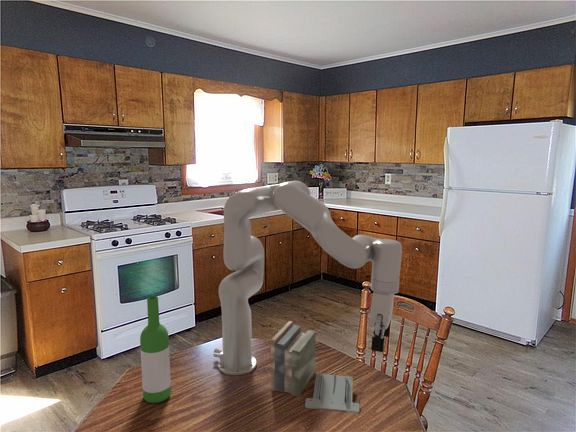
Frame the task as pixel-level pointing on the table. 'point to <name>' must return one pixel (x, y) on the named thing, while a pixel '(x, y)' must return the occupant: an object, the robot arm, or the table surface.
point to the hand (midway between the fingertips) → (380, 342)
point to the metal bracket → (333, 394)
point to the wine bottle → (155, 356)
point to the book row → (292, 359)
